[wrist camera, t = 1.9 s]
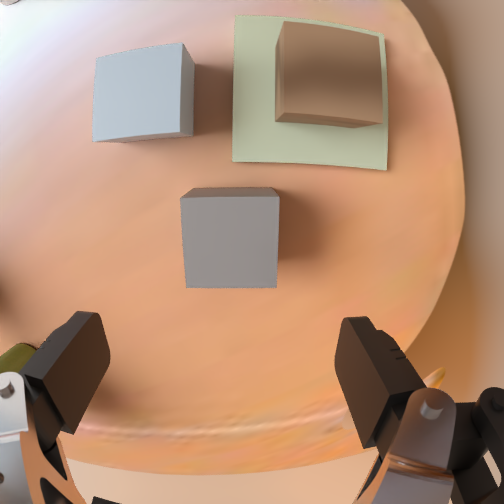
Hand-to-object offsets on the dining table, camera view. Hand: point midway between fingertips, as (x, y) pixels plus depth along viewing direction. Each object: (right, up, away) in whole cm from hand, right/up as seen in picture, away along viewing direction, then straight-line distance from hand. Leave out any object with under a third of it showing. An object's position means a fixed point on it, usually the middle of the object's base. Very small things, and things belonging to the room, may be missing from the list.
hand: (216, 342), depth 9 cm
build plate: (+6, +15, +11) cm, 19 cm away
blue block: (-6, +14, +11) cm, 19 cm away
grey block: (0, +5, +14) cm, 15 cm away
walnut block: (+6, +15, +10) cm, 19 cm away
